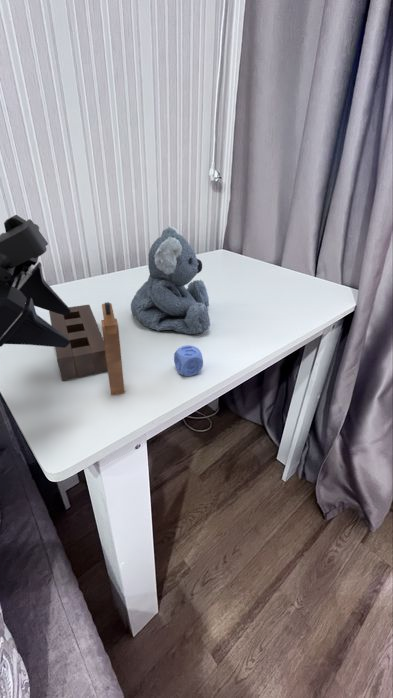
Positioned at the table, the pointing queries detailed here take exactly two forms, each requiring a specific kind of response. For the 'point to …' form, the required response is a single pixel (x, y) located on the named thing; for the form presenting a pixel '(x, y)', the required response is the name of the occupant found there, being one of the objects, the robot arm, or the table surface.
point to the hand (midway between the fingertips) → (68, 327)
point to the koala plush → (172, 288)
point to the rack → (79, 343)
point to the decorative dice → (188, 360)
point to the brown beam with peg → (112, 350)
